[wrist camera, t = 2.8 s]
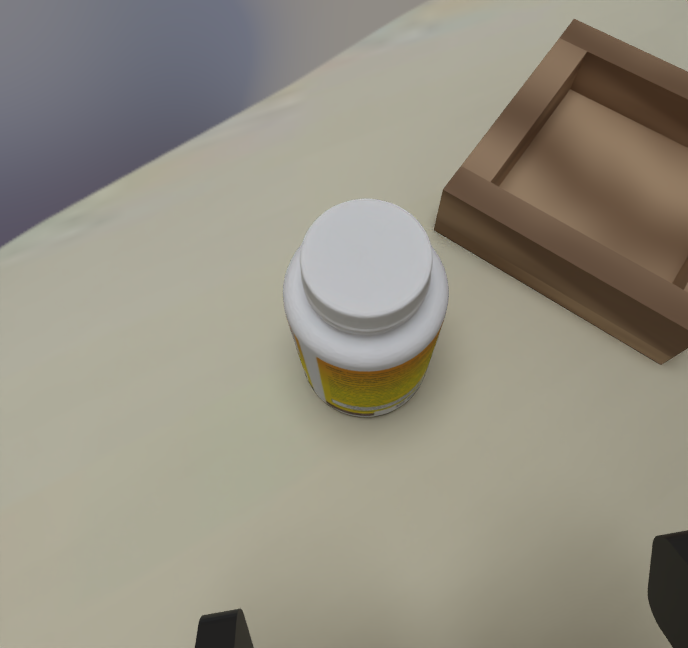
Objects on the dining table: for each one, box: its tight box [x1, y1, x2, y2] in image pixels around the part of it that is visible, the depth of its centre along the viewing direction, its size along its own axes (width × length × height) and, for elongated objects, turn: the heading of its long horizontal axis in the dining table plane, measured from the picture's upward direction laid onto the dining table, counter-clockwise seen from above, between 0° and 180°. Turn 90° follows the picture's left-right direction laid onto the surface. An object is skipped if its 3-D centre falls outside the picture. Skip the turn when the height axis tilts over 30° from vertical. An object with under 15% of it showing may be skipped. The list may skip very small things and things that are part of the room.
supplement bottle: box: [283, 199, 449, 417], centre depth 22 cm, size 6×6×10 cm
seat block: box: [434, 19, 688, 364], centre depth 28 cm, size 12×12×4 cm
